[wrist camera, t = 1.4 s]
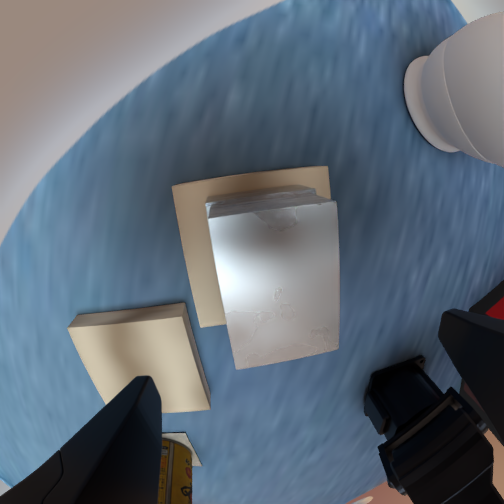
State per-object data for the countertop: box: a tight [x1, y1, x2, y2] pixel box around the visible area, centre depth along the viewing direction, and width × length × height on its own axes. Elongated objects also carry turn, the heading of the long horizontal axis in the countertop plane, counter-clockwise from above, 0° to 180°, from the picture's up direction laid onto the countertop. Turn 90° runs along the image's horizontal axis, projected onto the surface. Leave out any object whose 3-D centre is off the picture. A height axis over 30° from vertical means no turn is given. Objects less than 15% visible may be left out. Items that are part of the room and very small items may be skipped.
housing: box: [205, 184, 340, 370], centre depth 14 cm, size 5×7×6 cm
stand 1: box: [67, 303, 211, 413], centre depth 20 cm, size 9×9×2 cm
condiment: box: [158, 433, 202, 504], centre depth 19 cm, size 7×8×12 cm
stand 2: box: [172, 166, 331, 328], centre depth 18 cm, size 9×9×2 cm
